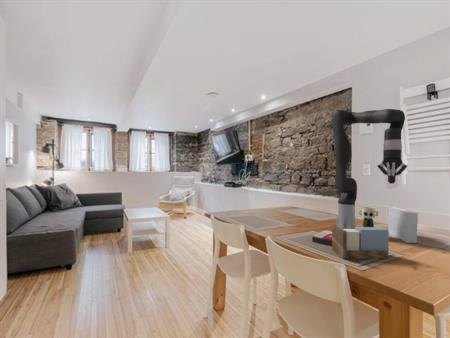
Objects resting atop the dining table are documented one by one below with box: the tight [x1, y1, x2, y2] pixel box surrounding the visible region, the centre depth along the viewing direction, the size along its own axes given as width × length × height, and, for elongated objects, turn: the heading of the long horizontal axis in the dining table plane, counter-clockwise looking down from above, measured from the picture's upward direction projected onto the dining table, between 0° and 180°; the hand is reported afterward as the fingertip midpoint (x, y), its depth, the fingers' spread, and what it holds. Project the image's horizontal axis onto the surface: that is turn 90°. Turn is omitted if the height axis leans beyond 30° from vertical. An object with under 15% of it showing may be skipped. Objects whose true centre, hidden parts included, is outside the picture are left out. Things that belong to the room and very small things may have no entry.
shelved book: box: [344, 228, 359, 251], centre depth 108 cm, size 7×4×11 cm, turn 88°
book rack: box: [331, 224, 389, 260], centre depth 107 cm, size 20×11×12 cm, turn 88°
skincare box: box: [387, 206, 419, 244], centre depth 134 cm, size 21×6×16 cm, turn 168°
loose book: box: [355, 226, 390, 256], centre depth 107 cm, size 12×4×12 cm, turn 89°
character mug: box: [358, 206, 379, 227], centre depth 157 cm, size 11×7×13 cm, turn 61°
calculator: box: [312, 230, 332, 247], centre depth 128 cm, size 11×4×15 cm
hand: (391, 183), depth 120 cm, fingers closed
